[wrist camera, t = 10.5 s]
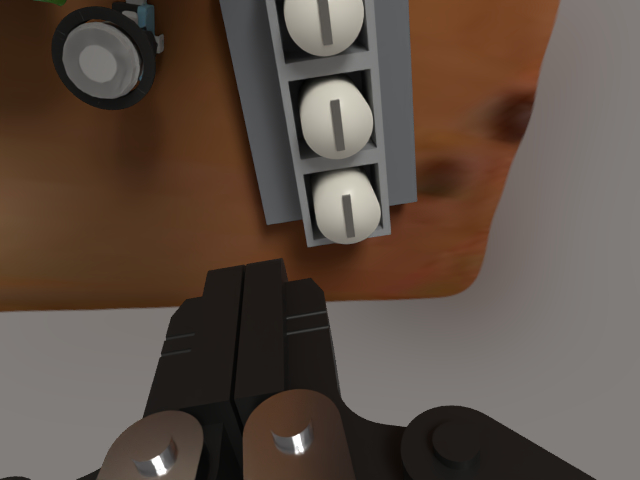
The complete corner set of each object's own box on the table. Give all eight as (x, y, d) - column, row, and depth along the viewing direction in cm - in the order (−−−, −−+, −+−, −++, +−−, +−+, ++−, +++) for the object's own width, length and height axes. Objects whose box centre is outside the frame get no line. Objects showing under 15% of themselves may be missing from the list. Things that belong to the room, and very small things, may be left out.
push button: (98, -31, 33) (34, -30, 24) (182, -19, 33) (148, -13, 25) (105, 73, 36) (49, 108, 27) (180, 83, 36) (151, 120, 28)
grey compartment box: (217, -33, 33) (202, -33, 27) (395, -61, 33) (424, -67, 27) (267, 208, 42) (265, 253, 35) (408, 186, 42) (432, 227, 35)
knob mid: (293, 74, 33) (296, 95, 28) (355, 64, 33) (370, 84, 28) (302, 134, 35) (307, 165, 30) (361, 125, 35) (376, 154, 30)
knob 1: (277, -26, 30) (278, -24, 25) (345, -37, 31) (360, -37, 25) (288, 46, 33) (291, 62, 27) (352, 36, 33) (367, 50, 27)
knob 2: (306, 158, 36) (311, 192, 31) (363, 149, 36) (378, 182, 31) (314, 210, 38) (321, 250, 33) (368, 201, 38) (383, 240, 33)
